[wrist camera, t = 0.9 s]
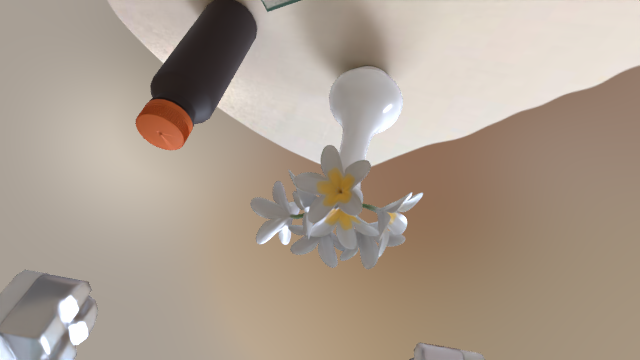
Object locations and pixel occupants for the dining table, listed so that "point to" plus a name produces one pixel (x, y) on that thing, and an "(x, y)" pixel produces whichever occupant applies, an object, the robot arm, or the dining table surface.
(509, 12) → the dining table surface
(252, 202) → the flower vase
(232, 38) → the vinegar
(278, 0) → the book
